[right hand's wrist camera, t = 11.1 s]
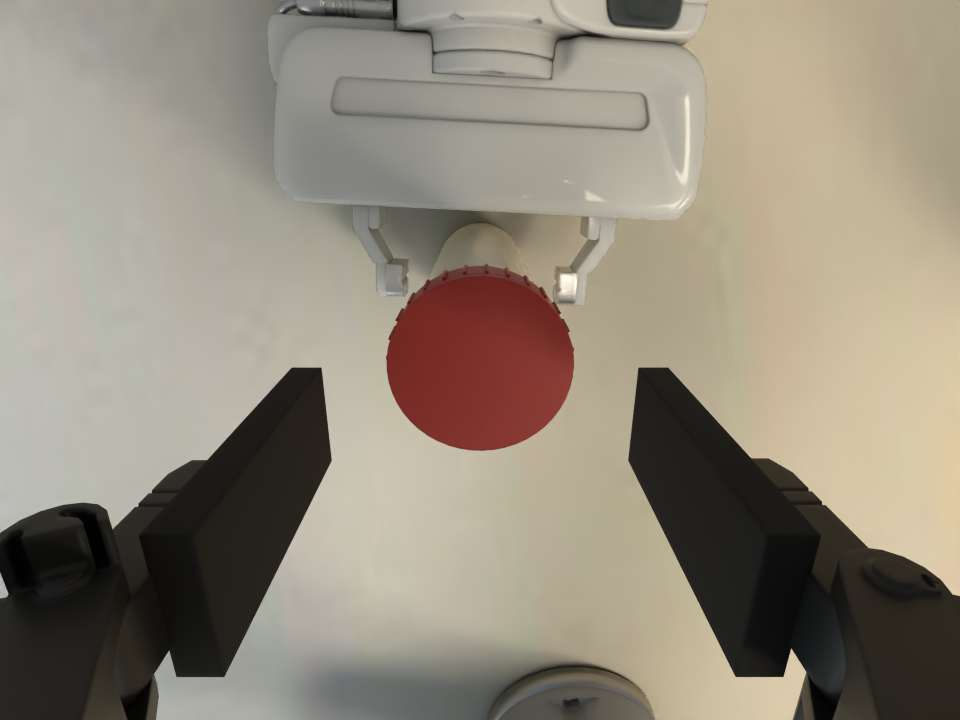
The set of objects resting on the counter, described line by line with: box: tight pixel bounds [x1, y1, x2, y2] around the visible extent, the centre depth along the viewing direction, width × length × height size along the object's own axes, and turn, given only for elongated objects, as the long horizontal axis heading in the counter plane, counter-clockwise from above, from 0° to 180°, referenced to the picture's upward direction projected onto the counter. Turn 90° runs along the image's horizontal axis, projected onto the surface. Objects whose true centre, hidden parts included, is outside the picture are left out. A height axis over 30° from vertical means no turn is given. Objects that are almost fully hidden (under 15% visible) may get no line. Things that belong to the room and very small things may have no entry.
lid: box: [386, 264, 574, 451], centre depth 18 cm, size 6×6×2 cm
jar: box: [429, 223, 533, 282], centre depth 26 cm, size 5×5×18 cm
